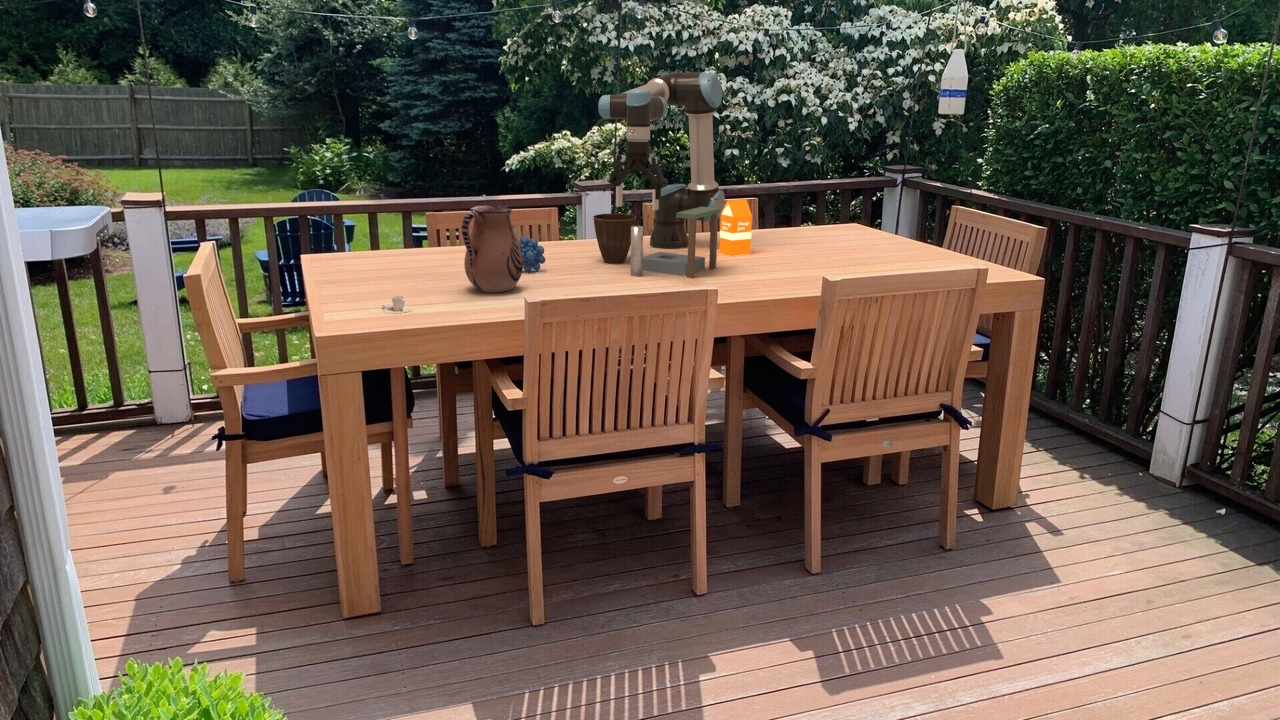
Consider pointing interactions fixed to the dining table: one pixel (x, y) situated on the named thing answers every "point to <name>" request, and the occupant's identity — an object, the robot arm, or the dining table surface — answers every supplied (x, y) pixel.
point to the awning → (692, 217)
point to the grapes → (531, 254)
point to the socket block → (670, 263)
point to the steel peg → (636, 250)
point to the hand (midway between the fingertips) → (637, 208)
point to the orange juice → (735, 228)
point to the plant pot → (614, 236)
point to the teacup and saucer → (396, 305)
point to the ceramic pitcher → (491, 249)
